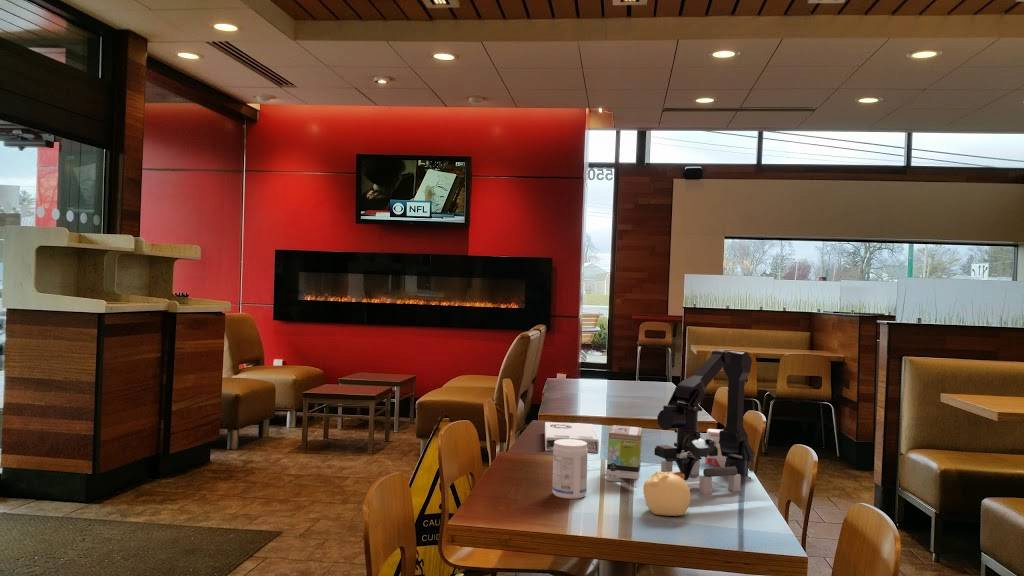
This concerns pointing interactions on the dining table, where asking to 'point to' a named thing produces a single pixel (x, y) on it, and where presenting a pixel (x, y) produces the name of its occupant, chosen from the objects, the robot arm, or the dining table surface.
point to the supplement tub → (570, 468)
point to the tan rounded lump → (666, 494)
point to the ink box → (719, 459)
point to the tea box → (624, 453)
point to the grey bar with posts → (731, 472)
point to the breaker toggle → (679, 474)
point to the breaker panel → (694, 483)
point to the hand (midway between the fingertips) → (685, 480)
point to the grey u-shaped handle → (667, 465)
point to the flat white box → (571, 434)
